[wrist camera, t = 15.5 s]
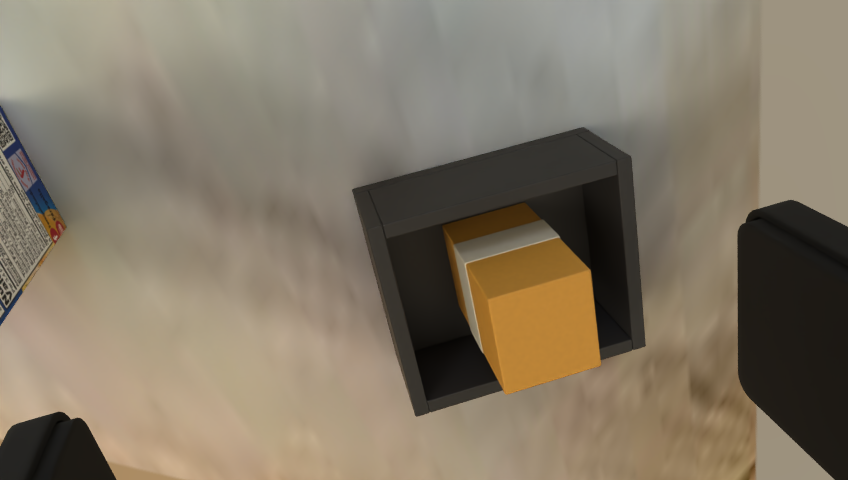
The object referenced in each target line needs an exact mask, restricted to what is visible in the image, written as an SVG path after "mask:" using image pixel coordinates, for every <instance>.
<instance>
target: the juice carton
mask: <svg viewBox="0 0 848 480" xmlns="http://www.w3.org/2000/svg"><path fill="white" fill-rule="evenodd" d="M442 228H443V233H444V238H445V242H446V247H447V252H448V257H449V261H450V266H451V271H452V276H453V280H454V285H455V290H456V294H457V299H458V304H459V307H460V309H461V311H462V313H463V315H464V316H465V318H466V320H467V322H468V324H469V326H470V330H471V332H472V334H473V336H474V338H475V340H476V342H477V344H478V346H479V348H480V349H481V351H482V353H484V355H485V357H486V358H487V360H488V362H489V364H490V366H491V368H492V370H493V372H494V374H495V376H496V377H497V379H498V381H499V383H500V385H501V387H502V389H503V391H504V393H505V394H510V393H514V392H517V391H520V390H523V389H527V388H530V387H533V386H536V385H540V384H543V383H546V382H549V381H553V380H556V379H559V378H562V377H566V376H569V375H572V374H575V373H579V372H582V371H585V370H588V369H592V368H595V367H598V366H601V359H600V350H599V341H598V332H597V323H596V314H595V305H594V296H593V287H592V278H591V270H590V269H589V268H588V267H587V266H586V265H585V264H584V263H583V262H582V261H581V260H580V259H579V258H578V257H577V256H576V255H575V254H574V253H573V252H572V250H571V249H570V248H569V247H568V246H567V245H566V244H565V243H564V242H563V241H562V240H561V239H560V236H559V235H558V234H557V233H556V232H555V231H554V230H553V229H552V228H551V227H550V226H549V225H548V224H547V223H546V222H545V221H544V220H541V219H540V217H539V216H538V215H537V214H536V213H535V212H534V211H533V210H532V209H531V208H530V207H529V206H528V205H527V204H526V203H520V204H517V205H513V206H510V207H506V208H502V209H499V210H495V211H492V212H488V213H485V214H481V215H477V216H474V217H470V218H467V219H463V220H459V221H456V222H452V223H449V224H445V225H442Z"/></svg>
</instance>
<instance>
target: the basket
mask: <svg viewBox="0 0 848 480" xmlns="http://www.w3.org/2000/svg"><path fill="white" fill-rule="evenodd" d="M352 191H353V194H354V198H355V202H356V206H357V209H358V213H359V217H360V221H361V224H362V228H363V232H364V235H365V239H366V243H367V247H368V250H369V254H370V258H371V262H372V265H373V269H374V273H375V277H376V280H377V284H378V288H379V291H380V295H381V299H382V303H383V306H384V310H385V314H386V318H387V321H388V325H389V329H390V333H391V336H392V340H393V344H394V347H395V351H396V355H397V359H398V362H399V365H400V368H401V371H402V375H403V378H404V381H405V384H406V387H407V390H408V394H409V397H410V400H411V403H412V406H413V409H414V413H415V416H416V417H417V416H421V415H424V414H427V413H429V411H430V412H433V411H436V410H440V409H443V408H446V407H449V406H453V405H456V404H459V403H463V402H466V401H469V400H472V399H476V398H479V397H482V396H485V395H489V394H492V393H495V392H498V391H502V390H503V389H502V387H501V385H500V383H499V381H498V379H497V377H496V376H495V374H494V372H493V370H492V368H491V366H490V364H489V362H488V360H487V358H486V357H485V355H484V353H482V351H481V349H480V348H479V346H478V344H477V342H476V340H475V338H474V336H473V334H472V332H471V330H470V326H469V324H468V322H467V320H466V318H465V316H464V315H463V313H462V311H461V309H460V307H459V304H458V299H457V294H456V290H455V285H454V280H453V276H452V271H451V266H450V261H449V257H448V252H447V247H446V242H445V238H444V233H443V228H442V225H445V224H449V223H452V222H456V221H459V220H463V219H467V218H470V217H474V216H477V215H481V214H485V213H488V212H492V211H495V210H499V209H502V208H506V207H510V206H513V205H517V204H520V203H526V204H527V205H528V206H529V207H530V208H531V209H532V210H533V211H534V212H535V213H536V214H537V215H538V216H539V217H540V219H541V220H544V221H545V222H546V223H547V224H548V225H549V226H550V227H551V228H552V229H553V230H554V231H555V232H556V233H557V234H558V235H559V236H560V239H561V240H562V241H563V242H564V243H565V244H566V245H567V246H568V247H569V248H570V249H571V250H572V252H573V253H574V254H575V255H576V256H577V257H578V258H579V259H580V260H581V261H582V262H583V263H584V264H585V265H586V266H587V267H588V268H589V269H590V270H591V278H592V287H593V296H594V305H595V314H596V323H597V332H598V341H599V350H600V359H601V360H603V359H606V358H609V357H613V356H616V355H619V354H622V353H626V352H629V351H632V349H633V350H635V349H639V348H642V347H645V346H646V345H645V332H644V319H643V305H642V292H641V279H640V265H639V252H638V239H637V225H636V212H635V199H634V186H633V172H632V159H631V156H629V155H628V154H626V153H624V152H623V151H621V150H620V149H618V148H616V147H615V146H613V145H611V144H610V143H608V142H606V141H605V140H603V139H601V138H600V137H598V136H597V135H595V134H593V133H592V132H590V131H589V130H587V129H585V128H584V127H583V128H579V129H575V130H572V131H568V132H564V133H560V134H557V135H553V136H549V137H546V138H542V139H538V140H534V141H531V142H527V143H523V144H520V145H516V146H512V147H508V148H505V149H501V150H497V151H494V152H490V153H486V154H482V155H479V156H475V157H471V158H468V159H464V160H460V161H456V162H453V163H449V164H445V165H442V166H438V167H434V168H430V169H427V170H423V171H419V172H415V173H412V174H408V175H404V176H401V177H397V178H393V179H389V180H386V181H382V182H378V183H375V184H371V185H367V186H363V187H360V188H356V189H353V190H352Z"/></svg>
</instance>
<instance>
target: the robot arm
mask: <svg viewBox="0 0 848 480" xmlns="http://www.w3.org/2000/svg"><path fill="white" fill-rule="evenodd" d="M738 375H739V380H740V383H741V385H742V388H743V390H744V391H745V393H746V394H747V396H748V397H749V398H750V399H751V400H752V401H753V402H754V403H755V404H756V405H757V406H758V407H759V408H761V410H763V411H764V412H765V413H766V414H767V415H768V416H769V417H770V418H771V419H772V420H773V421H774V422H775V423H776V424H777V425H778V426H779V427H780V428H781V429H782V430H783V431H784V432H786V433H787V434H788V435H789V436H790V437H791V438H792V439H793V440H794V441H795V442H796V443H797V444H798V445H799V446H800V447H801V448H802V449H803V450H804V451H805V452H806V453H807V454H809V455H810V456H811V457H812V458H813V459H814V460H815V461H816V462H817V463H818V464H819V465H820V466H821V467H822V468H823V469H824V470H825V471H826V472H827V473H828V474H829V475H830V476H832V477H833V478H834V479H835V480H848V227H847V226H845V225H843V224H841V223H839V222H837V221H835V220H833V219H831V218H829V217H827V216H825V215H823V214H821V213H819V212H817V211H815V210H813V209H811V208H809V207H807V206H805V205H803V204H801V203H799V202H797V201H794V200H788V201H784V202H781V203H777V204H774V205H770V206H767V207H763V208H760V209H756V210H753V211H752V212H750V213H749V214H748V217H747V219H746V223H744V224H742V225H741V226H740V228H739V230H738ZM0 480H116V478H115V476H114V474H113V473H112V470H111V469H110V467H109V465H108V463H107V461H106V459H105V457H104V456H103V454H102V452H101V450H100V448H99V446H98V444H97V442H96V441H95V439H94V437H93V435H92V433H91V431H90V429H89V428H88V426H87V424H86V423H85V421H83V420H82V419H81V418H75V419H72V420H71V419H70V418H69V417H68V416H67V415H66V414H65V413H63V412H56V413H53V414H49V415H46V416H42V417H39V418H35V419H32V420H28V421H25V422H22V423H18V424H16V425H13V426H12V427H11V428H10V429H9V431H8V432H7V434H6V436H5V438H4V440H3V442H2V444H1V446H0Z"/></svg>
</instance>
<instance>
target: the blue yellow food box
mask: <svg viewBox="0 0 848 480" xmlns="http://www.w3.org/2000/svg"><path fill="white" fill-rule="evenodd" d="M65 228H66V225H65V224H64V222H63V220H62V218H61V216H60V214H59V213H58V211H57V209H56V207H55V205H54V203H53V202H52V200H51V198H50V196H49V194H48V192H47V190H46V189H45V187H44V185H43V183H42V181H41V179H40V178H39V176H38V174H37V172H36V170H35V168H34V167H33V165H32V163H31V161H30V159H29V157H28V155H27V154H26V152H25V150H24V148H23V146H22V144H21V143H20V141H19V139H18V137H17V135H16V133H15V132H14V130H13V128H12V126H11V124H10V122H9V121H8V119H7V117H6V115H5V113H4V111H3V109H2V108H1V106H0V326H1V324H2V323H3V321H4V320H5V318H6V317H7V315H8V314H9V312H10V311H11V309H12V308H13V306H14V305H15V303H16V302H17V300H18V299H19V297H20V296H21V294H22V293H23V291H24V290H25V288H26V287H27V285H28V284H29V282H30V281H31V279H32V278H33V276H34V275H35V273H36V272H37V270H38V269H39V267H40V266H41V264H42V263H43V261H44V260H45V258H46V257H47V255H48V254H49V252H50V251H51V249H52V248H53V246H54V245H55V243H56V242H57V240H58V239H59V237H60V236H61V234H62V233H63V231H64V230H65Z"/></svg>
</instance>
